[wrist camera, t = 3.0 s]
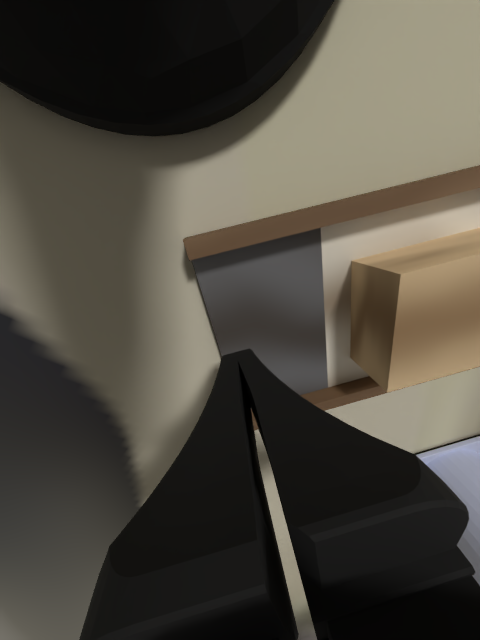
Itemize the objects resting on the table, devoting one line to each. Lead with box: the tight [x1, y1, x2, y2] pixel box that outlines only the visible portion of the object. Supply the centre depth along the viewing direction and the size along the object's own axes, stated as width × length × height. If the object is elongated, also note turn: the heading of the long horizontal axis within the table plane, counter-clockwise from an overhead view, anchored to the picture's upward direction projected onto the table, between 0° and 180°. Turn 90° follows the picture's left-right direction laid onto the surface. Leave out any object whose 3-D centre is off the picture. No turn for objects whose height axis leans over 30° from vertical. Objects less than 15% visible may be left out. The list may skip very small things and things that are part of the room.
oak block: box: [350, 228, 480, 392], centre depth 11 cm, size 6×7×3 cm
